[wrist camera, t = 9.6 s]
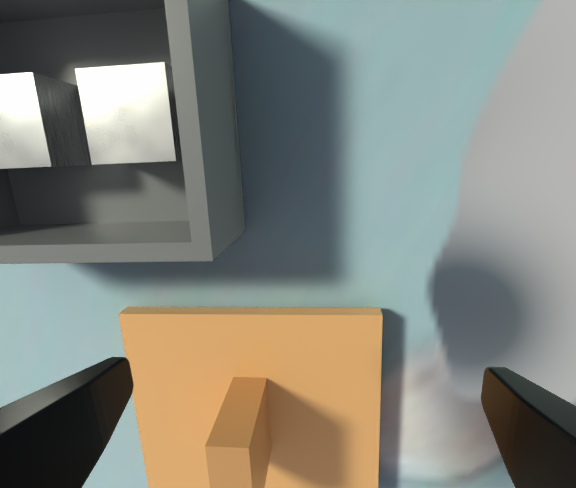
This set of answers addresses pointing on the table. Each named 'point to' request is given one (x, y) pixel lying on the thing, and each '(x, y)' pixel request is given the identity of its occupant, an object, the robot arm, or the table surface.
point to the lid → (256, 395)
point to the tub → (136, 176)
